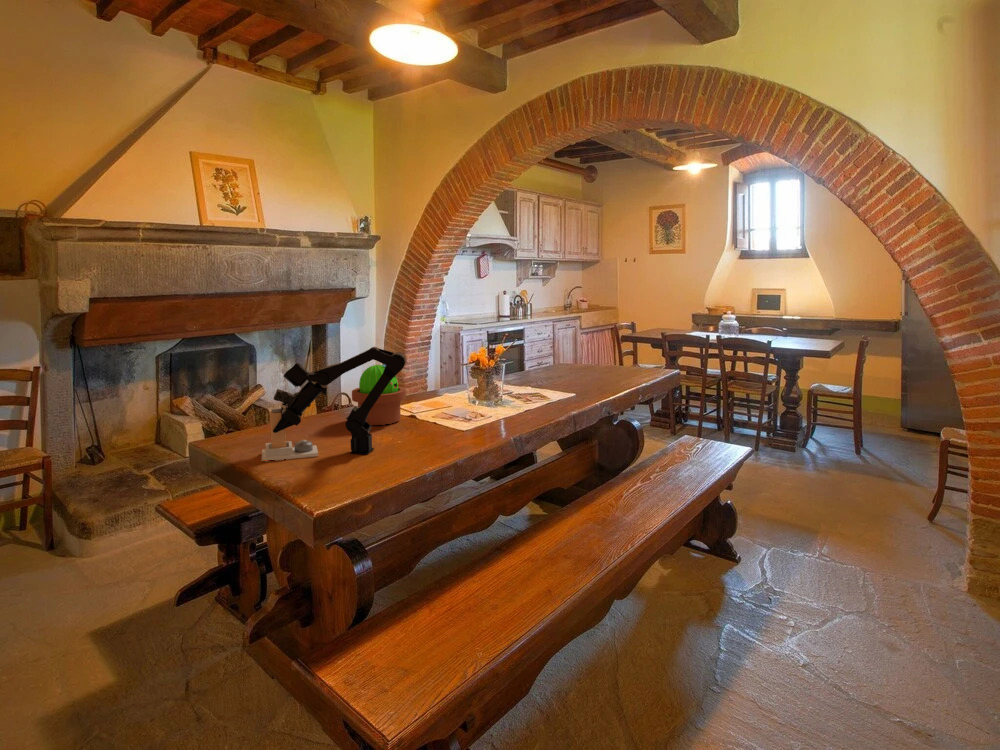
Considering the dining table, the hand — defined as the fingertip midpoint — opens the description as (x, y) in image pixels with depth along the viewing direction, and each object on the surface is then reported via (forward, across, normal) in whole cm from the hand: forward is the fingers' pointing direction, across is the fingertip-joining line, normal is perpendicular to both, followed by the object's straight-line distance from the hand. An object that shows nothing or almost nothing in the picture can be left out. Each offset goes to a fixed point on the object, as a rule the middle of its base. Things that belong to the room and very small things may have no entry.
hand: (273, 430), depth 199 cm
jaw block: (+4, 0, +6) cm, 7 cm away
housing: (+3, 0, +10) cm, 10 cm away
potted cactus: (-22, -38, +36) cm, 57 cm away
